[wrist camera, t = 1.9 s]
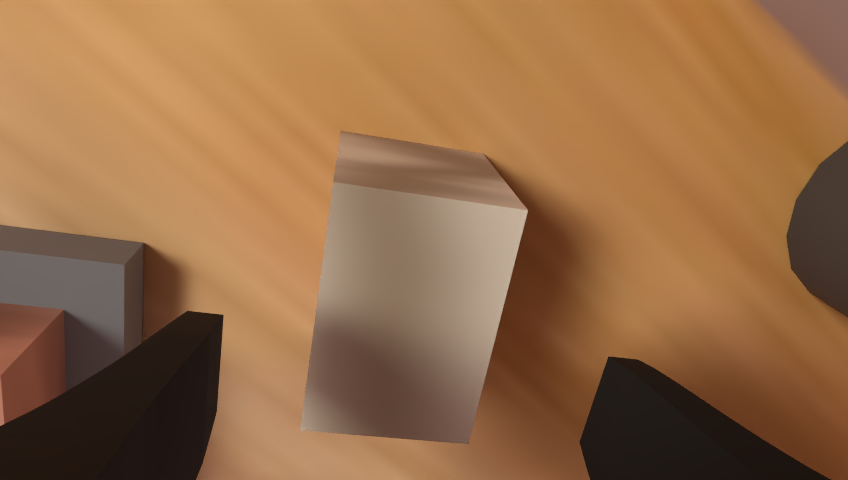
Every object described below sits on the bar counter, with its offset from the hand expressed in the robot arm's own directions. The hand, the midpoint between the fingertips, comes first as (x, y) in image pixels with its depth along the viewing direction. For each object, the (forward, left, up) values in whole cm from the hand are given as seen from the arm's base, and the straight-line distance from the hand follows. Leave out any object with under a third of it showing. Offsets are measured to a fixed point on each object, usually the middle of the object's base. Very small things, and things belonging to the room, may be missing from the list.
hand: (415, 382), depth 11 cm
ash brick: (0, 0, -7) cm, 7 cm away
